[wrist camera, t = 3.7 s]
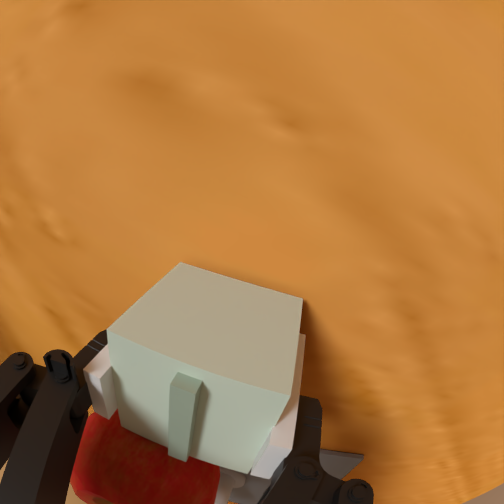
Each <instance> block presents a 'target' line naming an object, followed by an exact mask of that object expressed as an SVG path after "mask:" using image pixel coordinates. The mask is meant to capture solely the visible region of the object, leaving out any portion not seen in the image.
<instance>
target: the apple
mask: <svg viewBox="0 0 504 504" xmlns="http://www.w3.org/2000/svg"><path fill="white" fill-rule="evenodd" d="M219 480H220V466H218V465H214V464H211V463H208V462H205V461H202V460H199V459H196V458H194V457H191V456H189V457H188V459H187V461H186V462H184V461H182V460H179V459H177V458H174V457H172V456H169V455H168V447H165V446H163V445H160V444H158V443H156V442H153V441H151V440H149V439H147V438H145V437H142V436H140V435H138V434H136V433H134V432H132V431H130V430H128V429H126V428H124V427H122V426H121V423H120V418H119V413H118V408H117V409H116V411H115V412H114V414H113V415H112V416H111V418H110V419H109V420H108V419H107V418H105V417H103V416H101V415H99V414H98V413H96V412H94V413H92V414H91V415H90V416H89V417H88V419H87V422H86V425H85V428H84V431H83V435H82V438H81V441H80V445H79V448H78V452H77V455H76V459H75V463H74V467H73V471H72V475H71V479H70V483H71V485H72V487H73V489H74V492H75V494H76V495H77V496H78V497H79V498H80V499H81V500H83V501H84V502H86V503H87V504H215V499H216V494H217V489H218V485H219Z"/></svg>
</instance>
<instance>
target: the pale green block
mask: <svg viewBox="0 0 504 504" xmlns="http://www.w3.org/2000/svg"><path fill="white" fill-rule="evenodd" d="M302 304H303V299H302V298H299V297H295V296H292V295H288V294H285V293H281V292H278V291H274V290H271V289H268V288H264V287H261V286H257V285H254V284H251V283H247V282H244V281H240V280H237V279H234V278H230V277H227V276H224V275H221V274H217V273H214V272H211V271H208V270H204V269H201V268H198V267H195V266H192V265H188V264H185V263H182V262H180V263H179V264H178V265H176V266H175V267H174V268H173V269H172V270H171V271H170V272H169V273H167V274H166V275H165V276H164V277H163V278H162V279H161V280H160V281H159V282H157V283H156V284H155V285H154V286H153V287H152V288H151V289H150V290H149V291H147V292H146V293H145V294H144V295H143V296H142V297H141V298H140V299H139V300H138V301H137V302H135V303H134V304H133V305H132V306H131V307H130V308H129V309H128V310H127V311H126V312H125V313H124V314H122V315H121V316H120V317H119V318H118V319H117V320H116V321H115V322H114V323H113V324H112V325H111V326H110V327H109V328H108V329H107V339H108V349H109V357H110V365H111V368H112V375H113V382H114V388H115V394H116V400H117V406H118V413H119V418H120V423H121V426H122V427H124V428H126V429H128V430H130V431H132V432H134V433H136V434H138V435H140V436H142V437H145V438H147V439H149V440H151V441H153V442H156V443H158V444H160V445H163V446H165V447H168V455H169V456H172V457H174V458H177V459H179V460H182V461H184V462H186V461H187V459H188V457H189V456H191V457H194V458H196V459H199V460H202V461H205V462H208V463H211V464H214V465H218V466H221V467H224V468H228V469H231V470H235V471H238V472H242V473H246V474H248V473H249V471H250V469H251V468H252V466H253V462H254V459H255V457H256V456H257V454H258V452H259V450H260V449H261V447H262V445H263V443H264V442H265V440H266V438H267V436H268V434H269V432H270V431H271V429H272V427H273V426H275V425H276V423H277V422H278V420H279V418H280V416H281V414H282V412H283V410H284V408H285V406H286V404H287V402H288V400H289V398H290V396H291V391H292V384H293V377H294V370H295V363H296V355H297V347H298V339H299V331H300V322H301V314H302Z"/></svg>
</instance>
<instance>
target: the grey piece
mask: <svg viewBox="0 0 504 504" xmlns="http://www.w3.org/2000/svg"><path fill="white" fill-rule="evenodd" d="M319 459H320V464H321V466H322V468H323V469H324V470H325V471H326V472H327V473H328V474H330V475H331V476H333V477H336V478H338V479H340V480H341V479H342V478H343V477H344V476H346V475H347V474H348V473H349V472H350V471H351V470H352V469H353V468H354V467H356V466H357V465H358V464H359V463H360V462H361V461H362V460H363V459H364V455H360V454H351V453H344V452H337V451H330V450H324V449H320V455H319ZM251 470H252V468H251V469H250V471H249V473H248V474H246V473H242V472H238V471H235V470H231V469H228V468H224V467H221V466H220V480H219V485H218V489H217V494H216V499H215V504H227V503H228V501H231V502H235V503H239V504H257V503H258V501H259V500H260V498H261V497H262V495H263V493H264V491H265V490H266V489H267V488H268V487H269V486H270V484H271V480H272V476H271V478H270V479H266V478H261V477H257V476H253V475H250V474H251Z"/></svg>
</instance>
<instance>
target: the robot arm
mask: <svg viewBox="0 0 504 504" xmlns="http://www.w3.org/2000/svg"><path fill="white" fill-rule="evenodd" d="M305 338H306V335H305V334H301V333H299V339H298V347H297V355H296V363H295V370H294V377H293V384H292V391H291V396H290V398H289V400H288V402H287V404H286V406H285V408H284V410H283V412H282V414H281V416H280V418H279V420H278V422H277V423H276V425H275V426H273V427H272V429H271V431H270V432H269V434H268V436H267V438H266V440H265V442H264V443H263V445H262V447H261V449H260V450H259V452H258V454H257V456H256V457H255V459H254V462H253V466H252V470H251V474H250V475H253V476H257V477H261V478H266V479H270V478H271V476H272V480H271V484H270V486H269V487H268V488H267V489H266V490H265V491H264V493H263V495H262V497H261V498H260V500H259V501H258V503H257V504H373V497H374V494H373V489H372V488H371V486H370V484H368V483H367V482H366V481H364V480H361V479H351V480H349V481H346V482H345V481H343V480H340V479H338V478H336V477H333V476H331V475H330V474H328V473H327V472H326V471H325V470H324V469H323V468H322V466H321V464H320V459H319V455H320V441H321V426H322V421H321V420H322V407H321V405H320V402H319V400H318V399H315V398H310V397H306V396H302V395H300V387H301V378H302V369H303V359H304V349H305ZM43 358H44V361H45V365H46V367H43V366H40V365H37V364H34V362H33V360H32V357H31V356H30V355H29V354H27V353H25V352H17V353H14V354H12V355H11V356H10V357H8V358H7V359H6V360H5V361H4V362H3V363H2V364H1V365H0V470H1V468H2V467H3V465H4V464H5V463H6V461H7V460H8V462H7V465H6V468H5V471H4V474H3V477H2V480H1V483H0V504H65V501H66V496H67V491H68V487H69V483H70V479H71V475H72V471H73V467H74V463H75V459H76V455H77V452H78V448H79V445H80V441H81V438H82V435H83V431H84V428H85V425H86V422H87V419H88V411H87V410H88V409H89V407H90V406H91V405H92V406H93V409H94V412H96V413H98V414H99V415H101V416H103V417H105V418H107V419H108V420H109V419H110V418H111V416H112V415H113V414H114V412H115V411H116V409H117V408H118V406H117V400H116V394H115V388H114V382H113V375H112V368H111V365H110V357H109V349H108V339H107V330H104V331H102V332H100V333H99V334H97V335H96V336H95V337H94V338H93V340H91V341H90V342H89V343H88V344H87V346H85V347H84V348H83V349H82V350H81V351H80V352H79V353H78V354H77V355H76V356H75V357H74V358H72V356H71V355H70V354H69V353H68V352H66V351H64V350H59V349H57V350H51V351H49V352H47V353H46V354H45V355H44V356H43ZM8 458H9V459H8Z"/></svg>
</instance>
